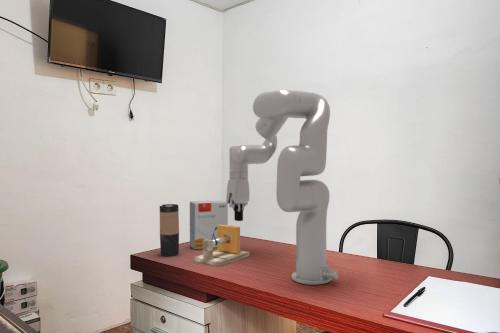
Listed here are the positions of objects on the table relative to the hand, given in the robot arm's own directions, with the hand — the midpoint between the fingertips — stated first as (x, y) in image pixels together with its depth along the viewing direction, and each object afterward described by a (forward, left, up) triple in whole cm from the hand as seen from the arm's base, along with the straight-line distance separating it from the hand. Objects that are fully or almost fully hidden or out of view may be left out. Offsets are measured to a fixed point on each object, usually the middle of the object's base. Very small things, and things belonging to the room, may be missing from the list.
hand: (238, 220), depth 159 cm
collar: (0, +7, -11) cm, 13 cm away
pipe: (0, +11, -8) cm, 13 cm away
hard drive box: (+18, -1, -13) cm, 22 cm away
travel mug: (+22, +18, -13) cm, 31 cm away
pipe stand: (0, +11, -13) cm, 17 cm away
